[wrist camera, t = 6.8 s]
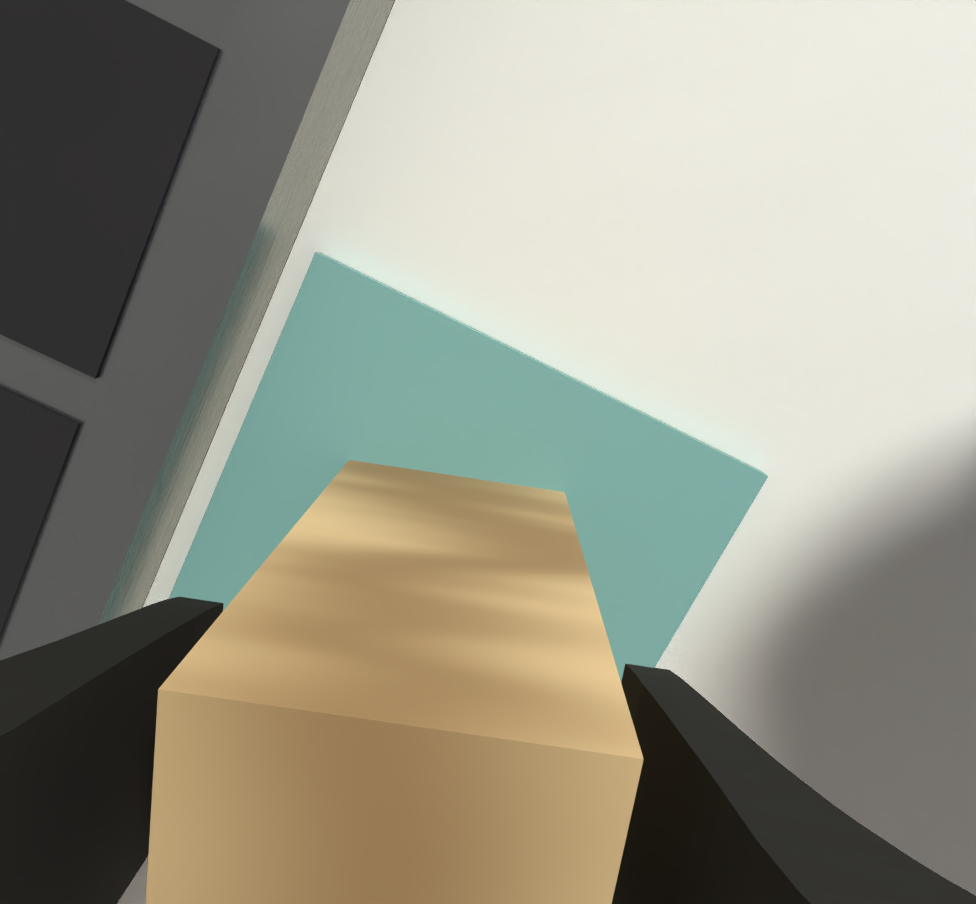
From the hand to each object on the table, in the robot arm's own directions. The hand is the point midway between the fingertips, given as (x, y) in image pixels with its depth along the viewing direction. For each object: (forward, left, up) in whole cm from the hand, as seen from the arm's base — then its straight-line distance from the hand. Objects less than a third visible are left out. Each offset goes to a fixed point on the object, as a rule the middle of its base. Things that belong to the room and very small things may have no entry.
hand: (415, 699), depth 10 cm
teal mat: (0, 0, -5) cm, 5 cm away
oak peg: (0, 0, -4) cm, 4 cm away
